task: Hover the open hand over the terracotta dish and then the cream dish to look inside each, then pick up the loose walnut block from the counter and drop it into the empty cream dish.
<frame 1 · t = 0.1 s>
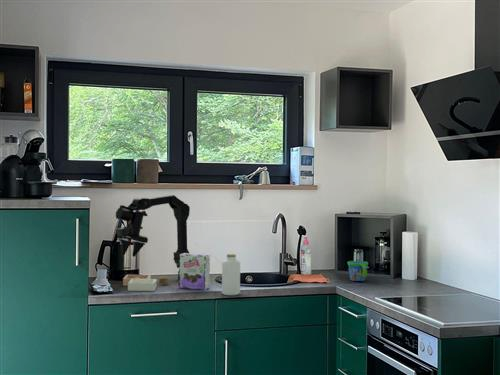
hand: (128, 255, 288), 15 cm above the worktop, tool pointing down, fingers open, 9 cm apart
terracotta dish: (137, 284, 296), on the worktop
walnut block: (163, 285, 295), on the worktop
candy box: (194, 288, 289), on the worktop
potion bottle: (230, 294, 275), on the worktop
snack cup: (357, 281, 318), on the worktop
cream dish: (142, 289, 283), on the worktop
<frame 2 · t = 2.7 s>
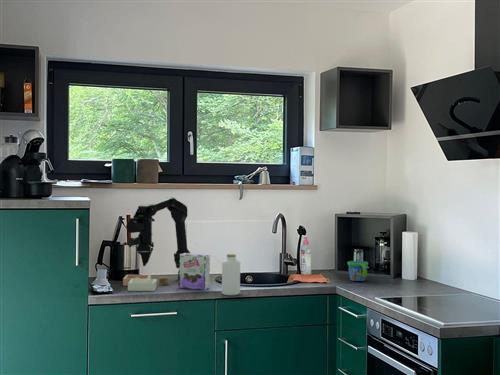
hand: (145, 264, 285), 12 cm above the worktop, tool pointing down, fingers open, 9 cm apart
nothing on the worktop moved.
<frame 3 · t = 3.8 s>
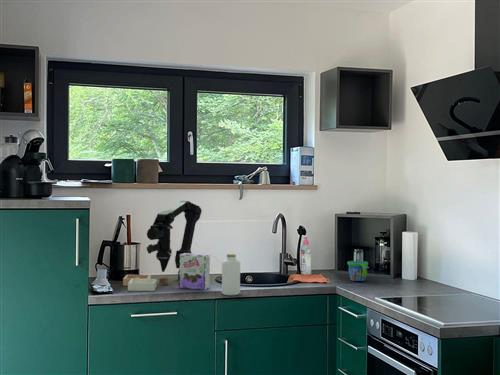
hand: (163, 270, 295), 7 cm above the worktop, tool pointing down, fingers open, 9 cm apart
nothing on the worktop moved.
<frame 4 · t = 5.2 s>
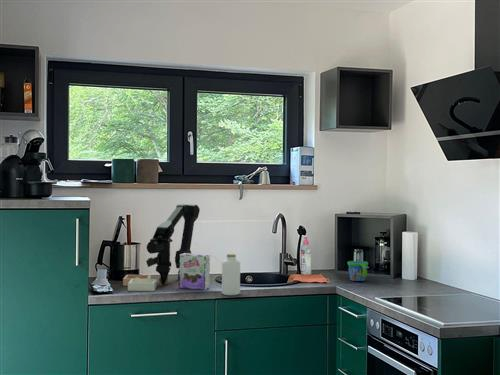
hand: (163, 283, 295), 1 cm above the worktop, tool pointing down, fingers closed on walnut block, 4 cm apart
walnut block: (163, 285, 295), on the worktop, touching gripper
everything else where it was.
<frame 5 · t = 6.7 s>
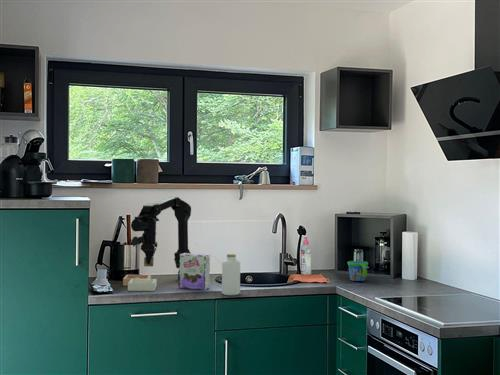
hand: (148, 263, 286), 12 cm above the worktop, tool pointing down, fingers closed on walnut block, 4 cm apart
walnut block: (148, 265, 286), point 11 cm above the worktop, touching gripper
everything else where it was.
when the fingers open (4 cm above the worktop, at t = 8.6 s): walnut block drops 3 cm, resting on cream dish.
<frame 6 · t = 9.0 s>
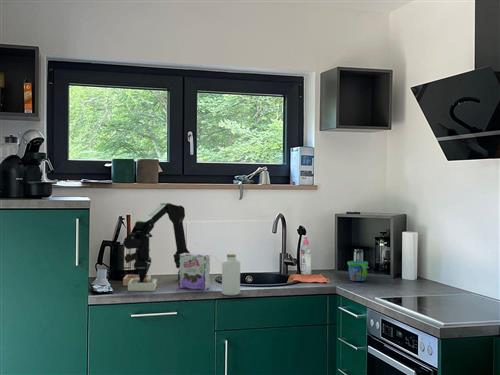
hand: (142, 280, 283), 4 cm above the worktop, tool pointing down, fingers open, 9 cm apart
walnut block: (142, 288, 283), point 1 cm above the worktop, touching cream dish
everything else where it was.
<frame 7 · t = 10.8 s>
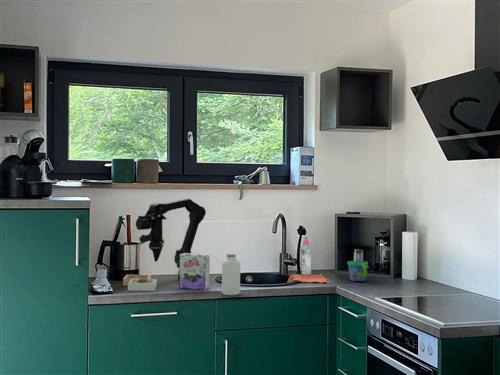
hand: (156, 260, 300), 12 cm above the worktop, tool pointing down, fingers open, 9 cm apart
nothing on the worktop moved.
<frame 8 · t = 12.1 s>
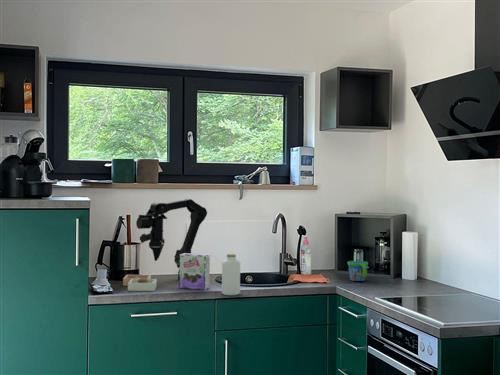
hand: (156, 259, 300), 12 cm above the worktop, tool pointing down, fingers open, 9 cm apart
nothing on the worktop moved.
at the end: walnut block inside the target area on the cream dish (0.1 cm from its centre), point 0.6 cm above the cream dish's base; the gripper is holding nothing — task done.
